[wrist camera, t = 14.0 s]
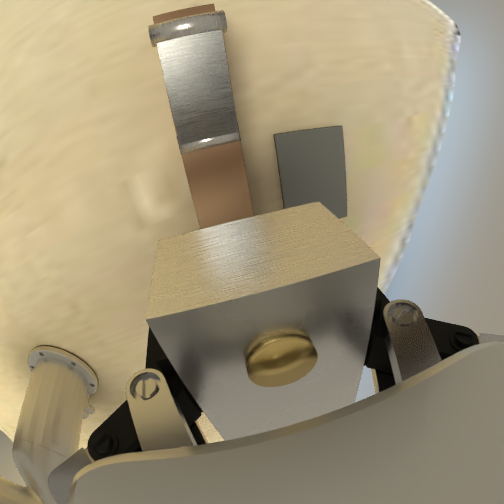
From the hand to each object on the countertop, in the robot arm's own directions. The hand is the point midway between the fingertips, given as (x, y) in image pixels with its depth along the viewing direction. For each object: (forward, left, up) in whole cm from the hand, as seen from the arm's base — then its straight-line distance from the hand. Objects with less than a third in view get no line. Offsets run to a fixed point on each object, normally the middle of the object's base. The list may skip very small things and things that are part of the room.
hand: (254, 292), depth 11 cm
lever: (+5, 0, -11) cm, 12 cm away
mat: (-2, -9, -17) cm, 20 cm away
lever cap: (0, 0, +1) cm, 1 cm away
